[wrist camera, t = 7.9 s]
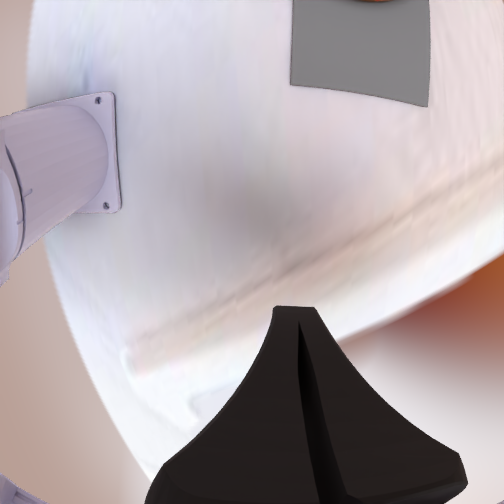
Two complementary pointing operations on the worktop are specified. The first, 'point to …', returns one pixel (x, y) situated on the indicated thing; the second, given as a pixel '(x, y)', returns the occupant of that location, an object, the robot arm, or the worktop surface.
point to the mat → (363, 47)
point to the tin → (376, 0)
